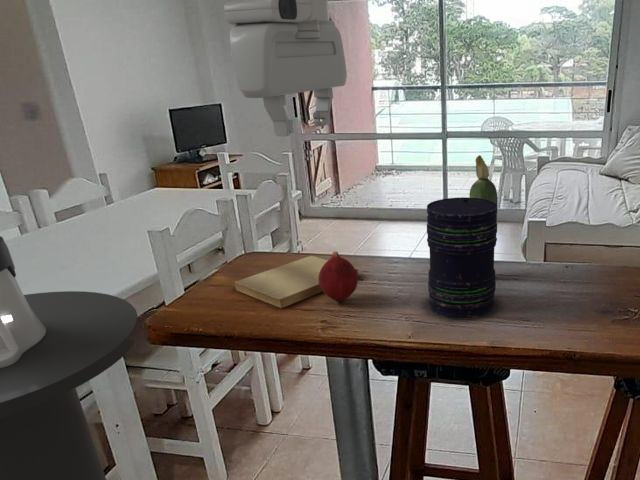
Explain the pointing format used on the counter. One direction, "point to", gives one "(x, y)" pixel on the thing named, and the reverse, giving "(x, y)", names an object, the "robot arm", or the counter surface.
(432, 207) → the storage jar
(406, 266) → the counter surface
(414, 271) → the counter surface
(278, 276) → the cutting board
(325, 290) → the onion
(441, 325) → the counter surface
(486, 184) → the vegetable
